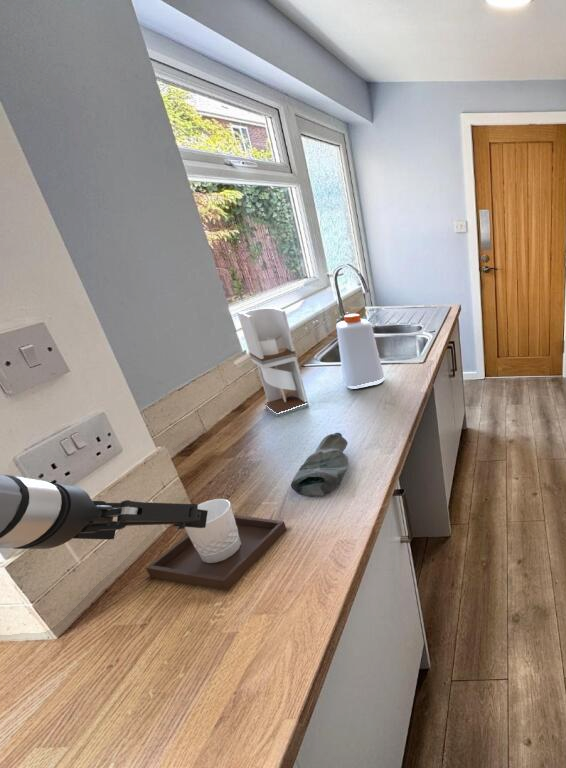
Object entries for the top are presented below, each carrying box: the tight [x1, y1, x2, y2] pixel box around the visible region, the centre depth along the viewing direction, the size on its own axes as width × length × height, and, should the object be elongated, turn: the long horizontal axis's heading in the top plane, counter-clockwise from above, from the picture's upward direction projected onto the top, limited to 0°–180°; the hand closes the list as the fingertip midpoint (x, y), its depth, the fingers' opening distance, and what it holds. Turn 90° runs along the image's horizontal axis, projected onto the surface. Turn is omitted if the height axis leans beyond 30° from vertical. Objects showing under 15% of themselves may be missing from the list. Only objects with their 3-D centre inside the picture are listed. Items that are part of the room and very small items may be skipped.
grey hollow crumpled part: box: [290, 432, 349, 498], centre depth 107 cm, size 13×7×25 cm
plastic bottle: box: [335, 313, 385, 386], centre depth 160 cm, size 15×15×28 cm
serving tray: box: [145, 514, 287, 591], centre depth 82 cm, size 18×16×2 cm
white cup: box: [184, 498, 241, 563], centre depth 80 cm, size 8×8×10 cm
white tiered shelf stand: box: [237, 306, 309, 418], centre depth 139 cm, size 11×11×35 cm
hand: (159, 524), depth 67 cm, fingers open, 13 cm apart
